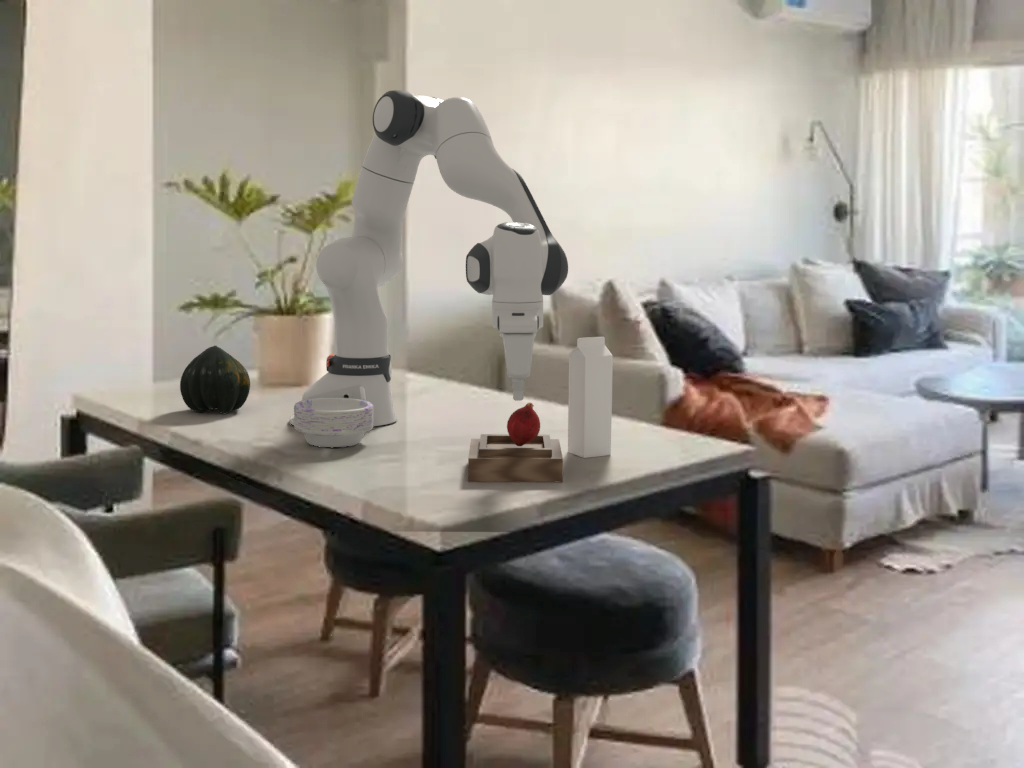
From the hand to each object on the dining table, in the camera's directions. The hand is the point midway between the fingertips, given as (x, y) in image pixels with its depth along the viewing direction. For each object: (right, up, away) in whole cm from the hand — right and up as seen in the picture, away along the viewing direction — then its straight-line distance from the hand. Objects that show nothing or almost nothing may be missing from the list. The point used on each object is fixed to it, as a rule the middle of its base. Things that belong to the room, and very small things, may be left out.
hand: (518, 396), depth 207 cm
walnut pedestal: (-1, -13, +2) cm, 13 cm away
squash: (-67, -4, +56) cm, 87 cm away
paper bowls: (-36, -10, +24) cm, 44 cm away
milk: (+13, -11, +16) cm, 24 cm away
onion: (0, -9, +2) cm, 9 cm away
